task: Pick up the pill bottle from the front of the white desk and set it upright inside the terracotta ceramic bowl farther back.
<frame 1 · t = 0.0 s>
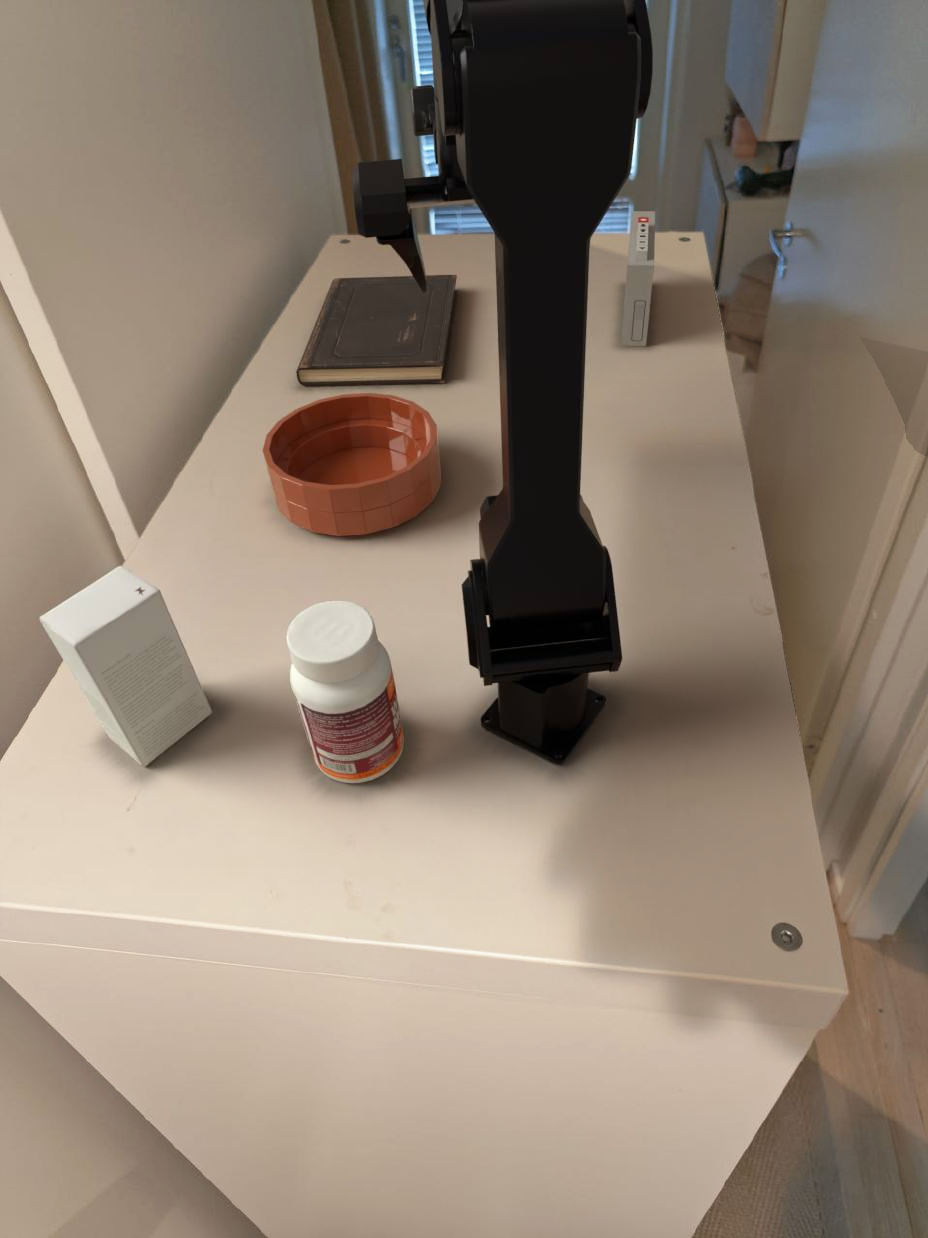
hand: (478, 284, 72), 15 cm above the cabinet, tool pointing down, fingers open, 9 cm apart
pill bottle: (359, 750, 57), on the cabinet
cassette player: (635, 316, 100), on the cabinet
cosmetic box: (161, 728, 59), on the cabinet
bowl: (359, 488, 78), on the cabinet
hardcover book: (384, 337, 100), on the cabinet
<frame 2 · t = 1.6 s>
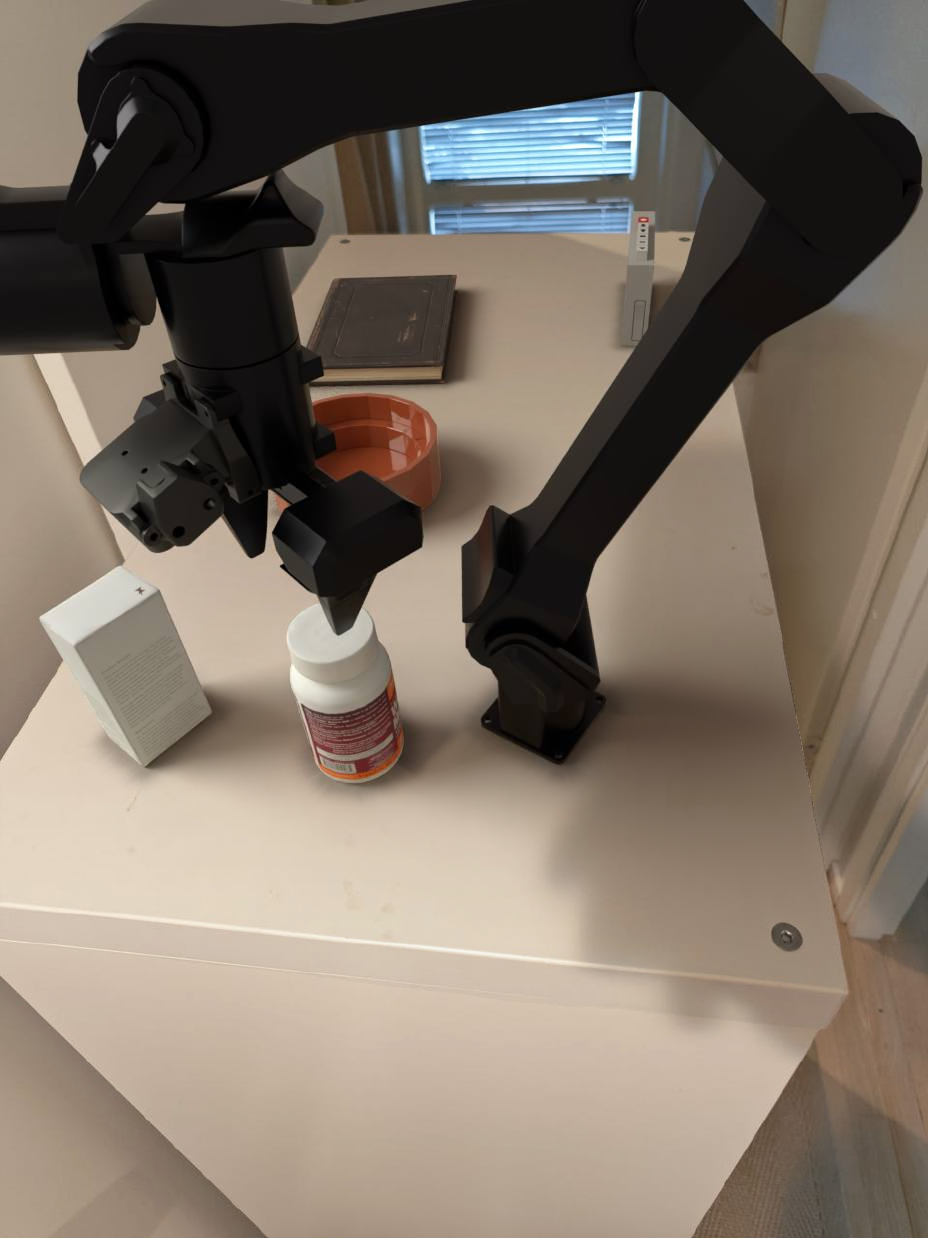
hand: (297, 590, 50), 12 cm above the cabinet, tool pointing down, fingers open, 9 cm apart
nothing on the cabinet moved.
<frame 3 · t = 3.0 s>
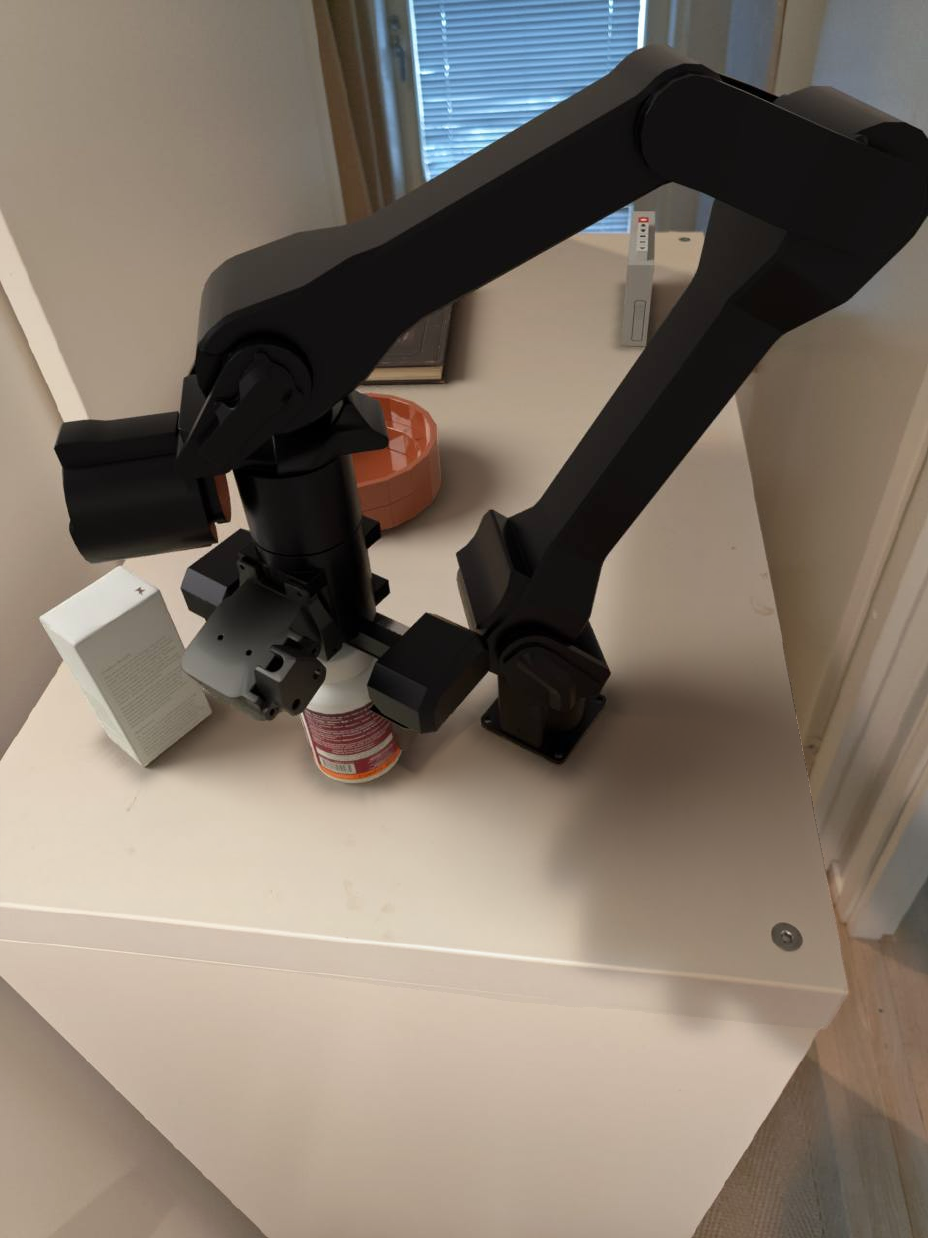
hand: (349, 714, 54), 4 cm above the cabinet, tool pointing down
pill bottle: (359, 750, 57), on the cabinet, touching gripper
everything else where it was.
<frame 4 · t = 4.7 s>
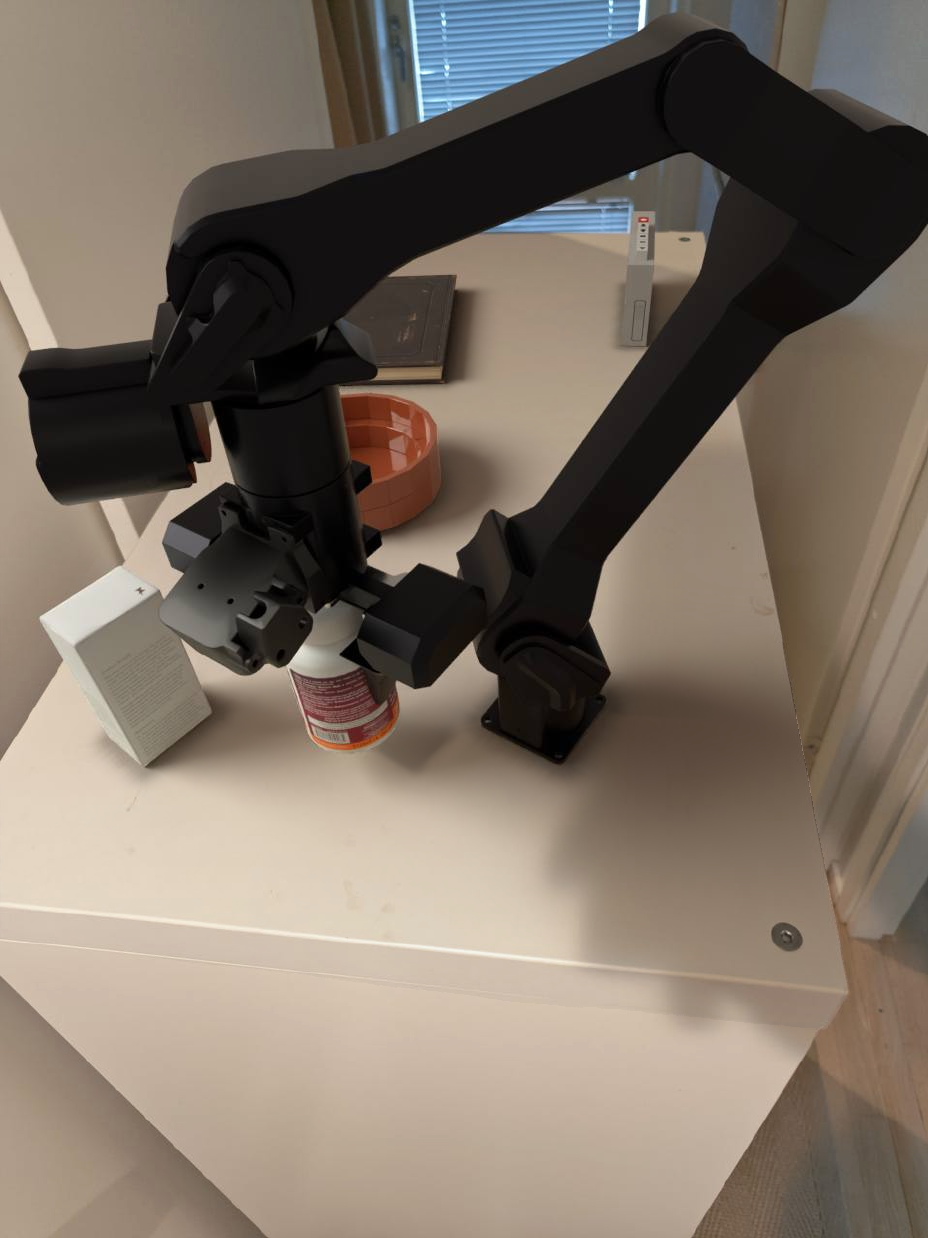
hand: (341, 678, 52), 7 cm above the cabinet, tool pointing down, fingers closed on pill bottle, 6 cm apart
pill bottle: (354, 721, 55), point 3 cm above the cabinet, touching gripper
everything else where it was.
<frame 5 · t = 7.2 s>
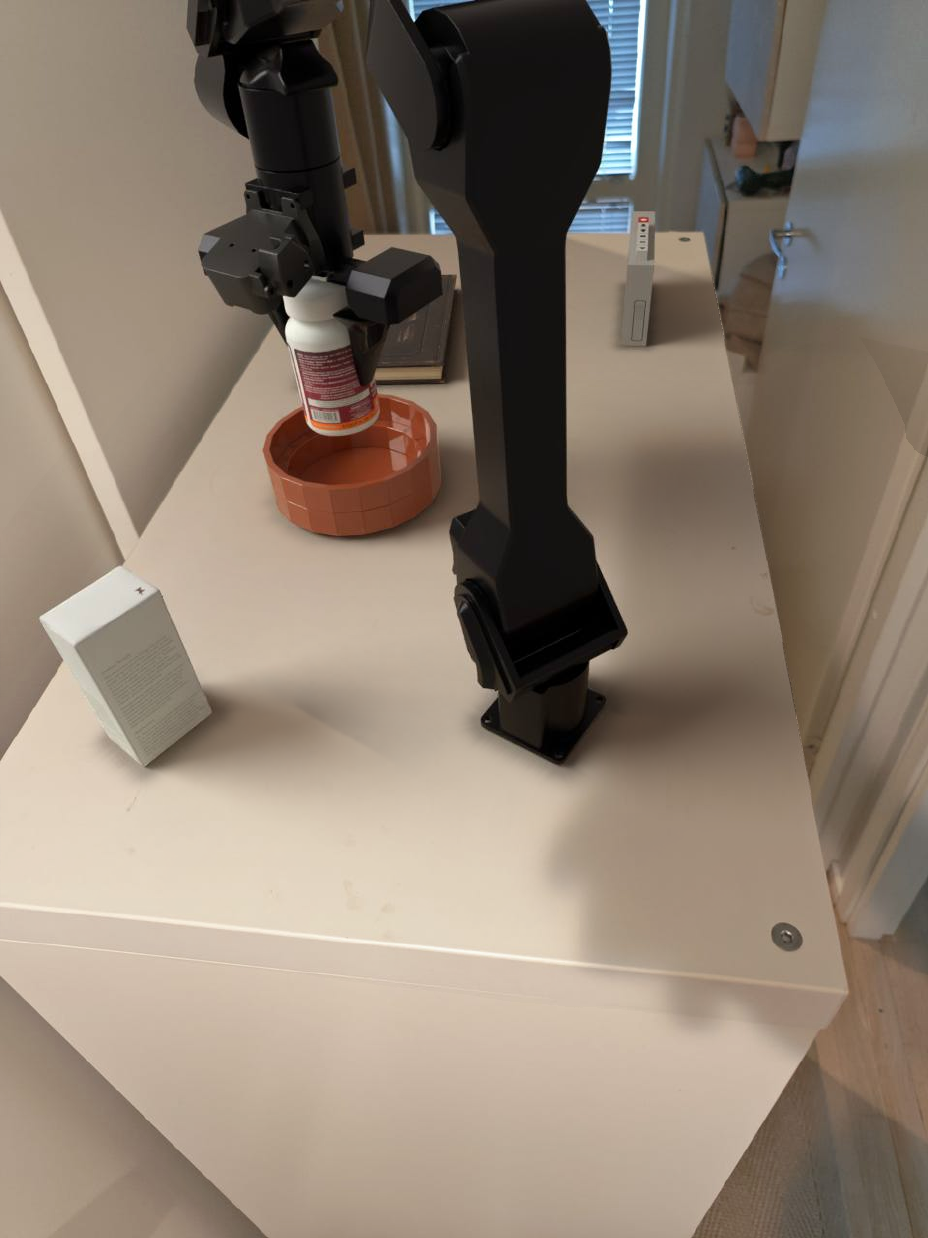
hand: (334, 374, 67), 13 cm above the cabinet, tool pointing down, fingers closed on pill bottle, 6 cm apart
pill bottle: (344, 420, 70), point 9 cm above the cabinet, touching gripper
everything else where it was.
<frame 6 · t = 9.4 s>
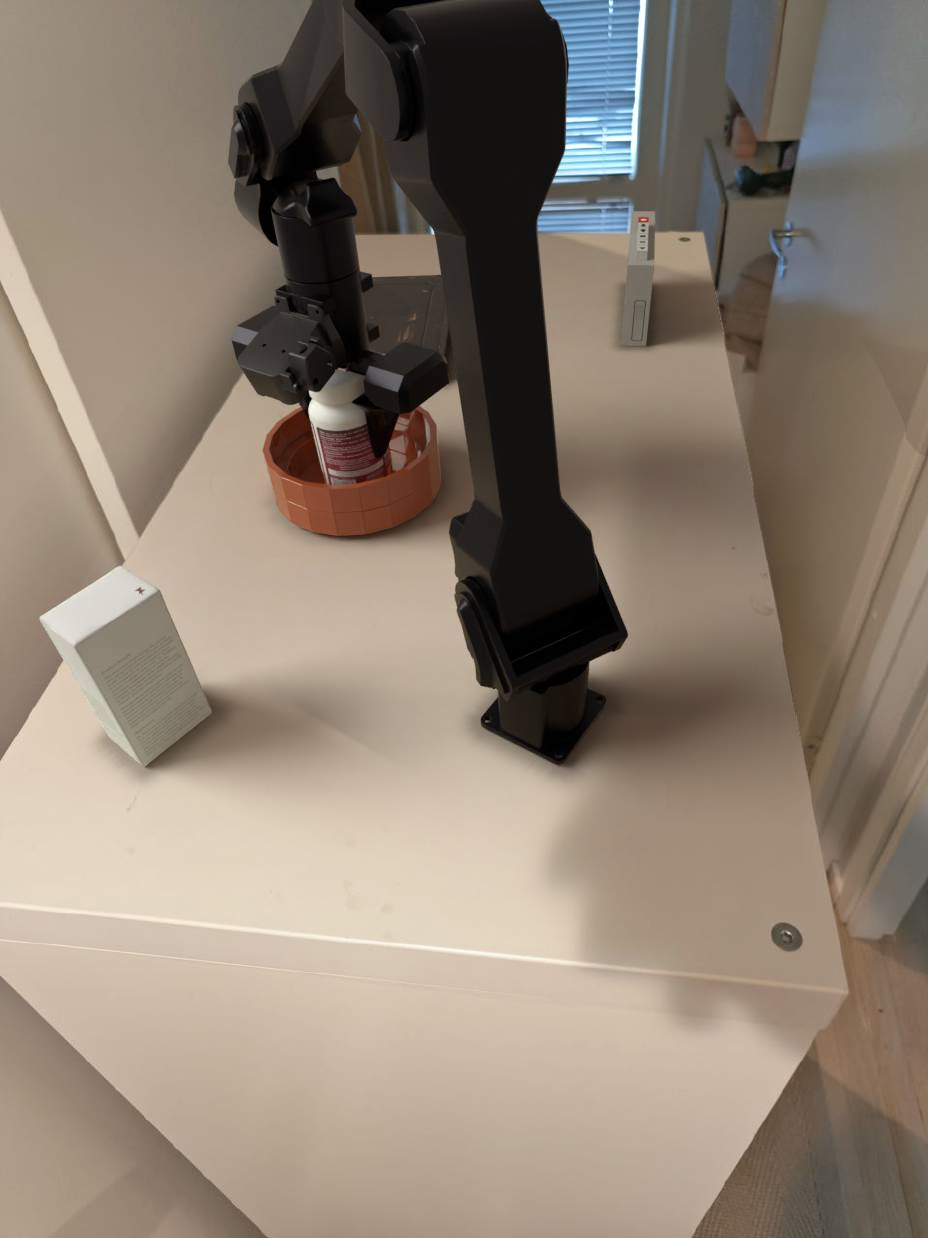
hand: (352, 445, 75), 5 cm above the cabinet, tool pointing down, fingers closed on pill bottle, 6 cm apart
pill bottle: (359, 485, 78), resting on bowl, touching gripper
everything else where it was.
when the fingers open (5 cm above the cabinet, at t = 9.7 s): pill bottle stays where it is, resting on bowl.
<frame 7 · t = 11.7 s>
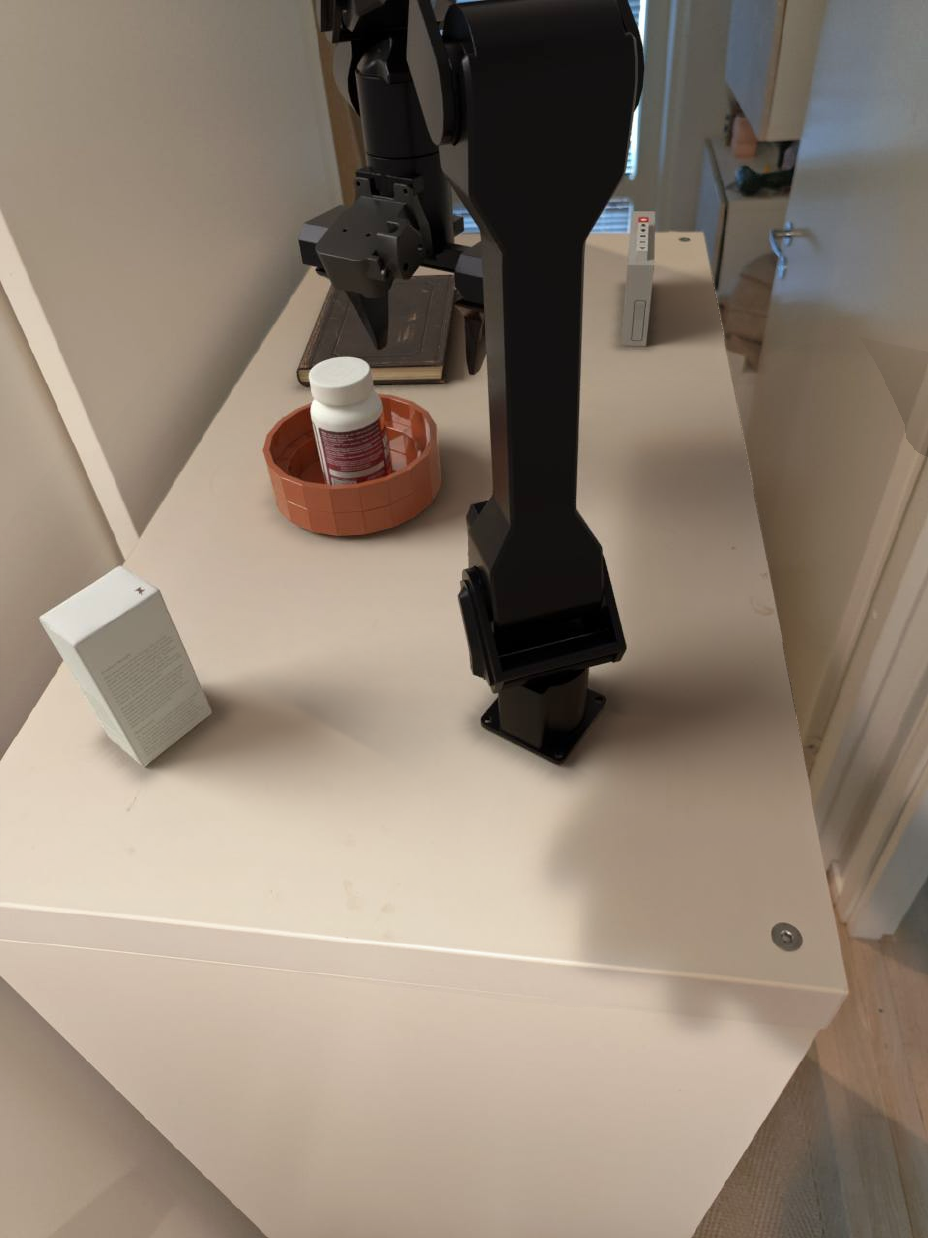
hand: (426, 360, 68), 13 cm above the cabinet, tool pointing down, fingers open, 9 cm apart
pill bottle: (359, 486, 78), resting on bowl
everything else where it was.
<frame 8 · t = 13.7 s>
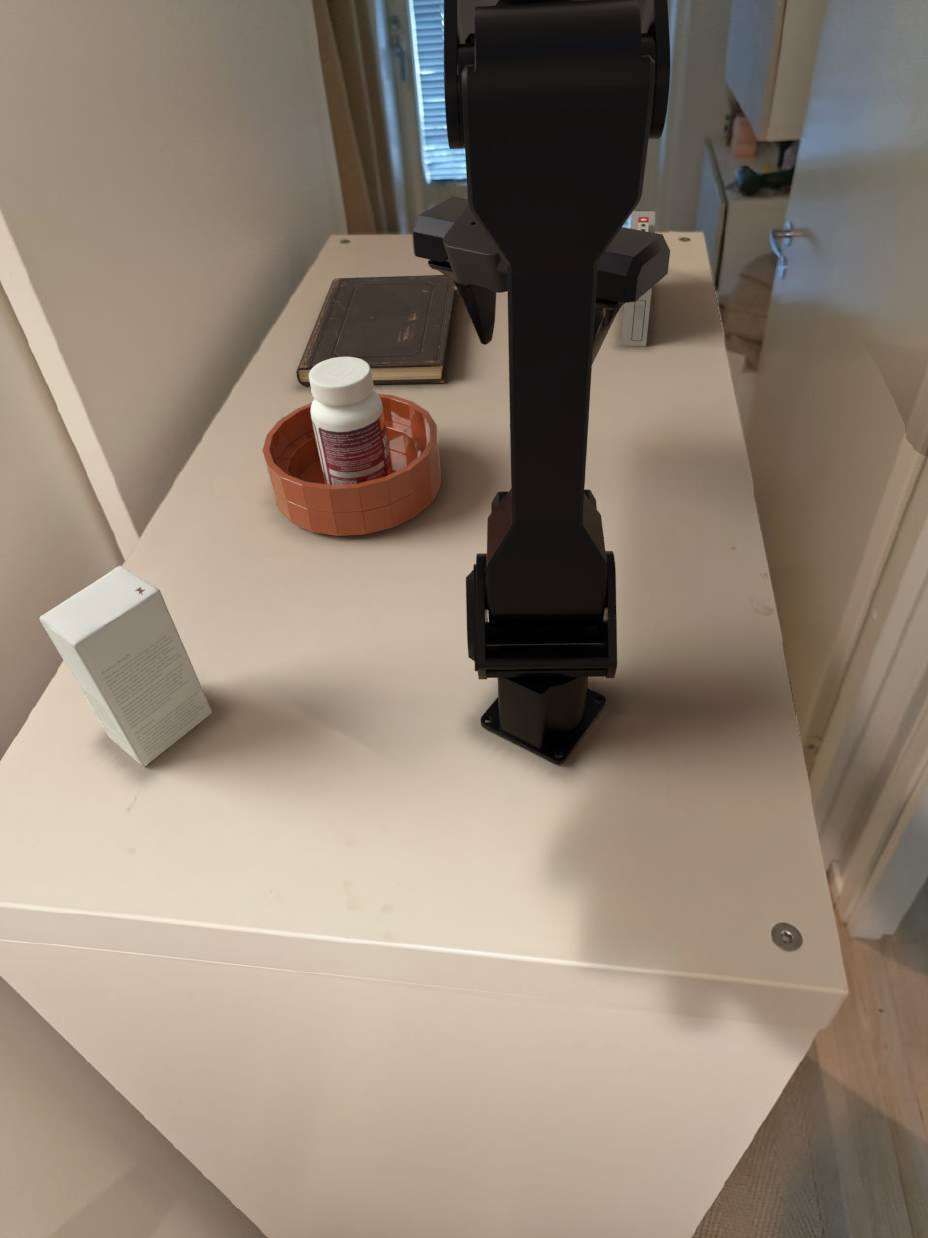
hand: (534, 355, 67), 13 cm above the cabinet, tool pointing down, fingers open, 9 cm apart
nothing on the cabinet moved.
at the end: pill bottle inside the target area in the bowl (0.2 cm from its centre), point 0.4 cm above the bowl's base; pill bottle tilted 0°; the gripper is holding nothing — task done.
